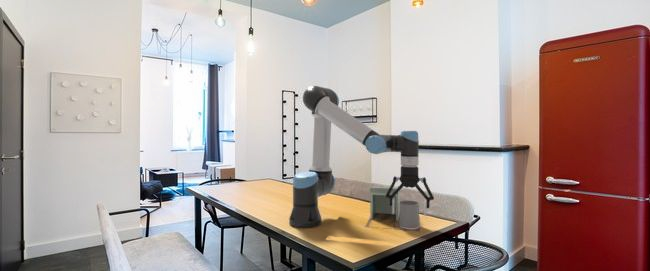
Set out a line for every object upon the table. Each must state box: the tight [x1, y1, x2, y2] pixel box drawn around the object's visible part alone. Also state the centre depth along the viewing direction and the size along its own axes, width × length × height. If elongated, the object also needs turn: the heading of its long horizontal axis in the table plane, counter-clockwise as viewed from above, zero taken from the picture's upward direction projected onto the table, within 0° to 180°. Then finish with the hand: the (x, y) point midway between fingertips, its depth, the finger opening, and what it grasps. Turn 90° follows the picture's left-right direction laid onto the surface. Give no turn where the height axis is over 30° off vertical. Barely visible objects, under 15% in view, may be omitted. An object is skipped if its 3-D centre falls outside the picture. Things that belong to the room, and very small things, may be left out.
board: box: [364, 213, 421, 232], centre depth 149 cm, size 23×26×2 cm
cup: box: [399, 200, 420, 228], centre depth 140 cm, size 8×8×10 cm
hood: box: [369, 186, 401, 221], centre depth 156 cm, size 13×12×15 cm
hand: (409, 214), depth 140 cm, fingers open, 13 cm apart
